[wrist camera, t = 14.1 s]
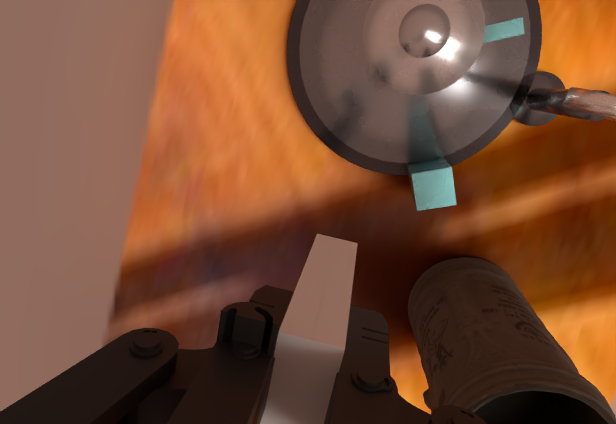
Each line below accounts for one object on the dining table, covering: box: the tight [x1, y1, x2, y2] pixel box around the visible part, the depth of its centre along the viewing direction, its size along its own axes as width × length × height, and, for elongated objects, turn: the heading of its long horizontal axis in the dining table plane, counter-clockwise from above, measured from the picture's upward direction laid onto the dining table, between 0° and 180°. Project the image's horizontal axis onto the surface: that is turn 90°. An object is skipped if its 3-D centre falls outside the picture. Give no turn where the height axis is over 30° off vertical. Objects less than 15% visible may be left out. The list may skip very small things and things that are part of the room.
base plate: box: [287, 0, 542, 175], centre depth 37 cm, size 21×21×1 cm
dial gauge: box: [510, 72, 616, 126], centre depth 30 cm, size 4×4×15 cm
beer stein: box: [408, 257, 616, 424], centre depth 35 cm, size 15×11×20 cm
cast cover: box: [363, 0, 485, 95], centre depth 31 cm, size 8×8×7 cm
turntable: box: [299, 0, 530, 211], centre depth 34 cm, size 22×18×6 cm
